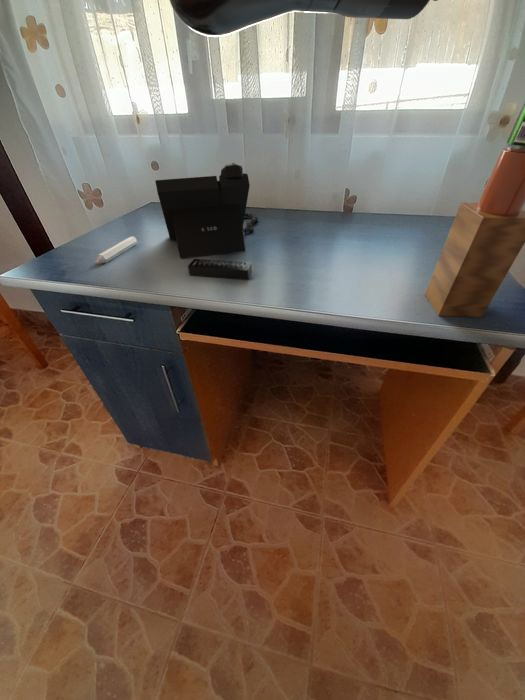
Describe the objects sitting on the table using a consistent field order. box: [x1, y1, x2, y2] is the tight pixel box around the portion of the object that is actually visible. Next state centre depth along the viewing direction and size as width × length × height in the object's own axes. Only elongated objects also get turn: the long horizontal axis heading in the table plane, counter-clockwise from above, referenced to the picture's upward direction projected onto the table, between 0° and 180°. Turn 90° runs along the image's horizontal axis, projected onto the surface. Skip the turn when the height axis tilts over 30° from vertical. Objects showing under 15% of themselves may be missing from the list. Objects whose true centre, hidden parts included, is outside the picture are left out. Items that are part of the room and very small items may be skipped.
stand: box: [424, 202, 525, 318], centre depth 54 cm, size 8×8×18 cm
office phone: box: [155, 162, 259, 260], centre depth 83 cm, size 29×28×20 cm
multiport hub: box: [187, 258, 253, 281], centre depth 70 cm, size 4×14×2 cm, turn 80°
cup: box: [476, 147, 525, 216], centre depth 45 cm, size 6×6×8 cm
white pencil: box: [94, 236, 138, 265], centre depth 79 cm, size 3×2×16 cm
